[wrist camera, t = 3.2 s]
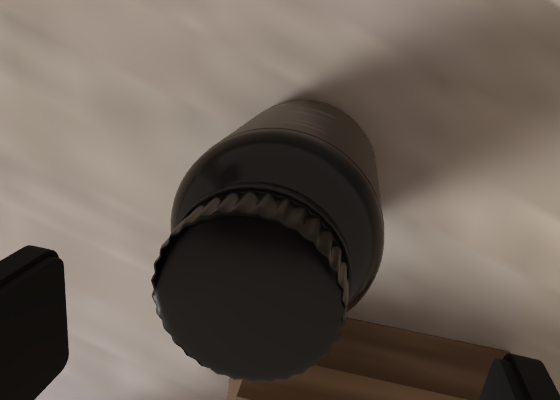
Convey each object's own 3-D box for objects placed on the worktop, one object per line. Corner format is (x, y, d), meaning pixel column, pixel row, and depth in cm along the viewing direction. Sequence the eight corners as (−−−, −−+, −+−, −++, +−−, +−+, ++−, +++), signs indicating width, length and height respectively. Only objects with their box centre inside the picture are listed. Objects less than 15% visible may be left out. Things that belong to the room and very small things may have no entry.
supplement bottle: (385, 224, 22) (407, 420, 11) (253, 238, 23) (153, 422, 12) (367, 82, 20) (371, 144, 9) (223, 108, 21) (68, 189, 10)
